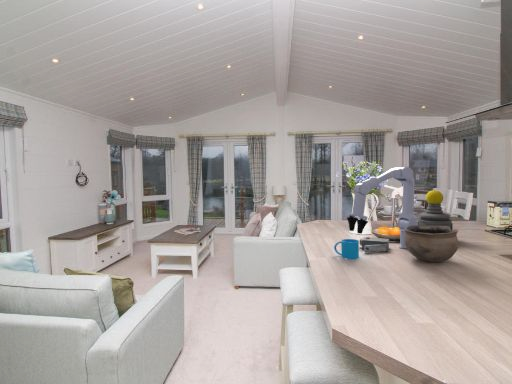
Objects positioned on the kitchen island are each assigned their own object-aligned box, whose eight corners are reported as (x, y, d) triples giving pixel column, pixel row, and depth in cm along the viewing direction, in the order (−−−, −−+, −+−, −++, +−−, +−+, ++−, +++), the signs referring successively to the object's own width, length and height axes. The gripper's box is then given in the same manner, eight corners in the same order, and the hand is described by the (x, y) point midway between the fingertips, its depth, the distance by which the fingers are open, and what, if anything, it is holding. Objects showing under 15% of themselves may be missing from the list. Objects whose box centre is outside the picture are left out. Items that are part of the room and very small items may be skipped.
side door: (387, 250, 165) (387, 243, 165) (388, 251, 163) (388, 244, 163) (364, 252, 163) (364, 245, 163) (365, 253, 161) (365, 245, 161)
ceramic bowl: (467, 268, 133) (467, 233, 132) (412, 266, 138) (412, 232, 137) (446, 254, 155) (446, 224, 154) (399, 253, 159) (399, 224, 158)
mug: (360, 255, 157) (360, 239, 157) (356, 260, 150) (356, 243, 150) (336, 253, 163) (336, 237, 163) (332, 257, 156) (331, 241, 156)
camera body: (389, 247, 172) (389, 237, 172) (387, 251, 165) (387, 240, 164) (360, 245, 179) (360, 235, 178) (358, 248, 171) (358, 238, 171)
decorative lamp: (409, 238, 193) (409, 190, 192) (433, 236, 199) (433, 188, 197) (435, 245, 175) (435, 191, 174) (460, 242, 181) (461, 190, 179)
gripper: (344, 204, 170) (341, 229, 170) (360, 206, 156) (356, 233, 156) (356, 205, 172) (352, 230, 172) (372, 208, 158) (368, 235, 158)
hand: (355, 232), depth 164 cm, fingers open, 7 cm apart
